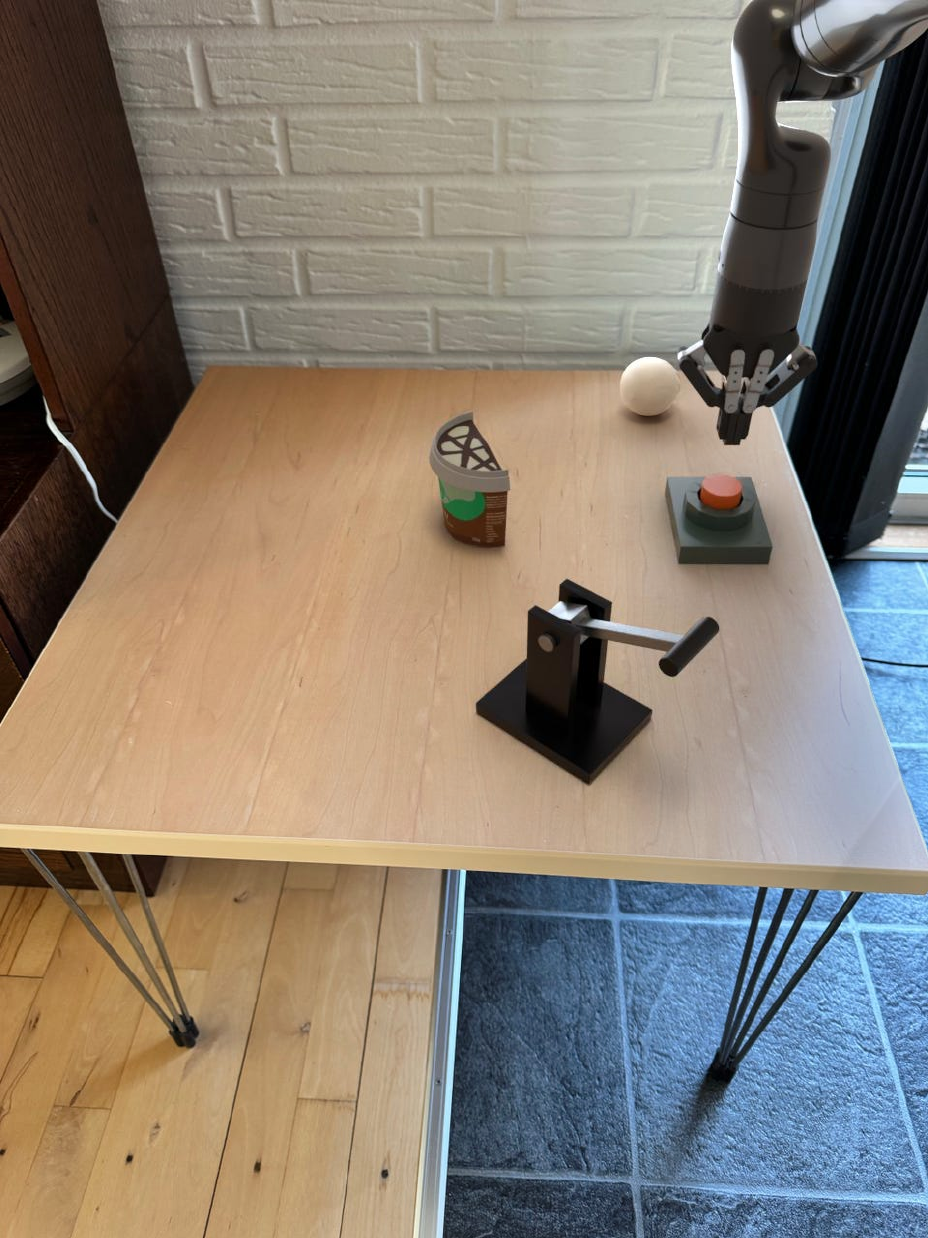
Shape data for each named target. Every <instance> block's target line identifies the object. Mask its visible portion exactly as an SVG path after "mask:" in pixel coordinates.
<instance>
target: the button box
mask: <svg viewBox="0 0 928 1238" xmlns="http://www.w3.org/2000/svg"><path fill="white" fill-rule="evenodd" d="M706 477H707V476H667V477H666V483H665V491H664V495H665V500H666V506H667V509H668V510H667V511H668V516H669V517H668V518H669V521H670V527H671V532H672V538H673V544H674V549H675V554H676V559H677V564H706V565H707V564H714V565H715V564H718V565H719V564H720V565H723V564H724V565H726V564H727V565H730V564H732V565H733V564H734V565H735V564H736V565H738V564H739V565H740V564H741V565H769V563H770V560H771V555H772V551H773V548H774V547H773V543H772V540H771V537H770V533H769V531H768V527H767V523H766V521H765V517H764V514H763V511H762V507H761V503H760V500H759V497H758V494H757V492H756V491H757V490H756V488H755V485H754V481H753V478H752V476H734V477H735V478H736V479H738V480H739V481H740V482H741V484H742V487H743V489H742V494H741V498H740V503H739V504H738V506H737V507H735V508H733V509H730V510H718V509H714V508H711V507H708V506H706V505H704V504H703V503H702V502H701V499H700V493H701V487H702V482H703V480H704V479H705V478H706Z"/></svg>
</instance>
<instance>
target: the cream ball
mask: <svg viewBox="0 0 928 1238" xmlns="http://www.w3.org/2000/svg"><path fill="white" fill-rule="evenodd" d="M681 386H682V383H681V378H680V375H679V373H678V371H677V369H675V368H674V367H673V366H672V365H671V364H670V362H668V361H666V360H664V359H663V358H659V357H654V356H646V357H641V358H638V359H636V360H634V361H633V362H631V363H630V364H629V365H628V366H627V367H626V368H625V369H624V371H623V373H622V375H621V378H620V382H619V392H620V397H621V400H622V402H623V403H624V405H625V406H626V407H627V409H628V410H629V411H631V412H633V413H634V414H637V415H640V416H646V417H647V416H648V417H652V416H657V415H660V414H662V413H664V412H665V411H667V410H668V409H669V408H670V407H672V405H673V404H674V402H675V400H676V399H677V397H678V395H679V393H680V392H681Z"/></svg>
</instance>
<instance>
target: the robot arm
mask: <svg viewBox="0 0 928 1238" xmlns="http://www.w3.org/2000/svg"><path fill="white" fill-rule="evenodd" d="M927 29H928V0H751V1H750V3H748V4H747V6H746V7H745V8H744V10H743V11H742V13H741V14H740V17H739V18H738V20H737V23H736V24H735V26H734V30H733V33H732V39H731V45H730V47H731V48H730V52H731V53H730V56H731V70H732V78H733V87H734V94H735V101H736V110H737V111H736V112H737V129H738V132H737V133H738V152H737V153H738V154H737V164H736V165H737V166H736V171H735V172H736V173H735V179H734V184H733V189H732V190H733V191H732V196H731V203H730V209H729V215H728V219H727V221H726V224H725V228H724V232H723V236H722V239H721V240H722V241H721V246H720V250H719V252H718V256H717V257H718V258H717V261H718V266H717V271H716V278H715V285H714V291H713V296H712V297H713V298H712V303H711V310H710V316H709V317H710V318H709V321H708V323H707V325H706V326H705V328H704V329H703V330H702V332H701V336H700V340H699V341H698V342H696V343H695V344H693V345H691V346H689V347H687V346H680V347H679V348H677V350H676V358H677V362H678V366H679V369H680V370H681V372H682V373H683V375H684V376H685V377H686V379H687V380H688V381H689V383H690V384H691V386H692V387H693V389H694V390H695V391H696V392H697V394H698V396H700V397H701V399H702V401H703V402H704V403H705V405H706V406H707V407H709V408H719V409H718V415H717V421H716V427H715V429H716V431H717V432H716V433H717V435H718V439H719V440H720V441H721V440H722V443H723V445H724V446H740V445H741V442H742V440H744V441H745V440H747V437H748V436H749V434H750V428H751V424H752V423H751V422H752V420H753V419H752V418H753V413H754V412H755V411H756V409H758V408H762V407H765V408H772V407H773V408H774V406H775V405H777V403H779V402H780V401H781V400H782V399H784V397H786V395H787V394H789V393H790V392H791V391H792V390H794V388H795V387H797V386H798V385H799V384H800V383H802V382H803V380H804V379H805V378H807V377H808V376H809V375H811V373H812V372H814V371H815V370H816V369H817V367H818V366H819V362H818V360H817V357H816V355H815V353H814V351H813V348H812V347H810V346H809V345H803V344H802V343H801V342H800V334H799V332H798V325H799V320H800V317H801V316H800V315H801V311H802V307H803V303H804V298H805V293H806V289H807V285H808V281H809V276H810V271H811V268H812V267H811V266H812V262H813V257H814V254H815V249H816V248H815V247H816V241H817V233H818V231H817V230H818V222H819V215H820V211H821V207H822V202H823V197H824V193H825V188H826V184H827V181H828V177H829V171H830V166H831V161H832V160H831V159H832V148H831V145H830V143H829V142H828V140H827V139H826V138H825V137H824V136H822V135H820V134H818V133H816V132H814V131H810V130H806V129H801V128H798V127H793V126H788V125H785V124H782V123H779V122H778V120H777V109H778V104H780V103H803V102H833V101H841V100H844V99H845V100H846V99H848V98H852V97H855V96H858V95H859V94H861V93H862V92H864V91H865V90H866V89H867V88H868V87H869V85H870V84H871V83H872V81H873V79H874V76H875V74H876V71H877V70H878V67H879V66H880V65H881V63H882V62H884V61H885V60H887V59H889V58H890V57H892V56H894V55H895V54H897V53H899V52H900V51H903V49H905V48H906V47H908V46H909V45H911V44H912V43H913V42H914V41H916V40H917V39H918V38H919V37H920V36H922V35H923V34H924V33H925V32H926V30H927ZM706 354H707V355H708V357H709V359H710V360H711V362H712V363H713V365H714V366H715V368H716V370H717V371H718V372H719V374H721V387H718V386H716V385H715V383H714V382H713V380H712V379H711V377H710V376H709V374H708V373H707V372H706V371H705V369H704V368H705V366H706V359H705V356H706ZM784 361H785V362H784ZM783 362H784V363H783ZM782 363H783V364H782ZM781 364H782V365H781ZM779 365H781V366H780V367H779ZM775 369H776V370H775ZM770 374H771V375H770ZM769 375H770V376H769ZM768 376H769V377H768ZM767 377H768V378H767Z"/></svg>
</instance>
